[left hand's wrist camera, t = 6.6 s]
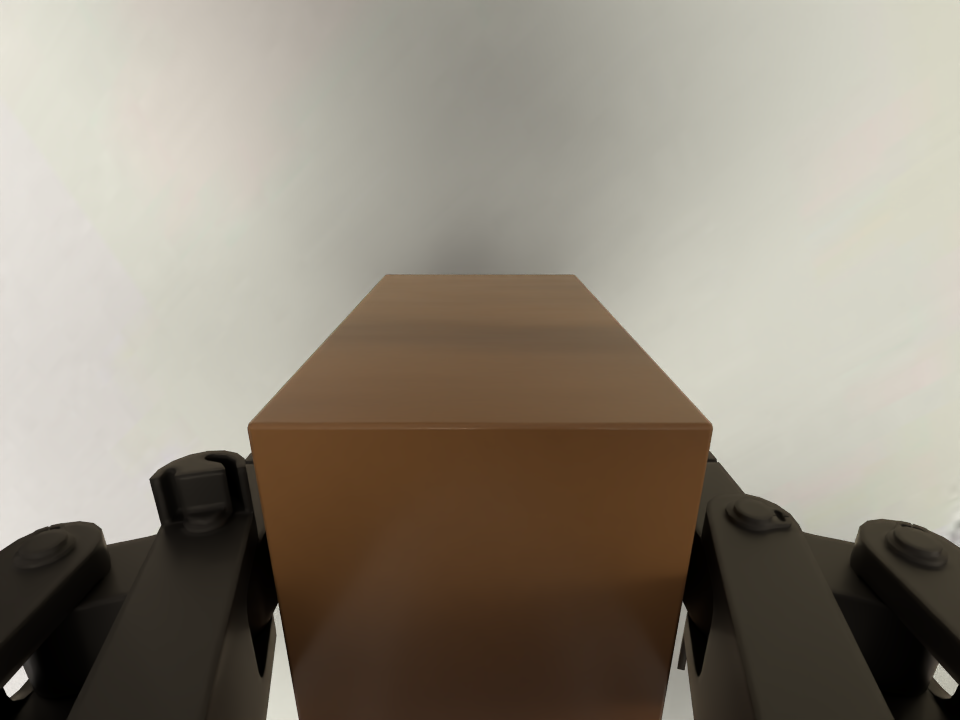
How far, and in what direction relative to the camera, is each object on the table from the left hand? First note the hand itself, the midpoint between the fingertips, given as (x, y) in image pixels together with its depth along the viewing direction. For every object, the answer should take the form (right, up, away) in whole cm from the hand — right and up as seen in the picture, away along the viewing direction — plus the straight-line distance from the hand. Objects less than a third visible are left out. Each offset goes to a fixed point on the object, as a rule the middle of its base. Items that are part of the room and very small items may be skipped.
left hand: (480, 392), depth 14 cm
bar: (0, -7, +3) cm, 8 cm away
